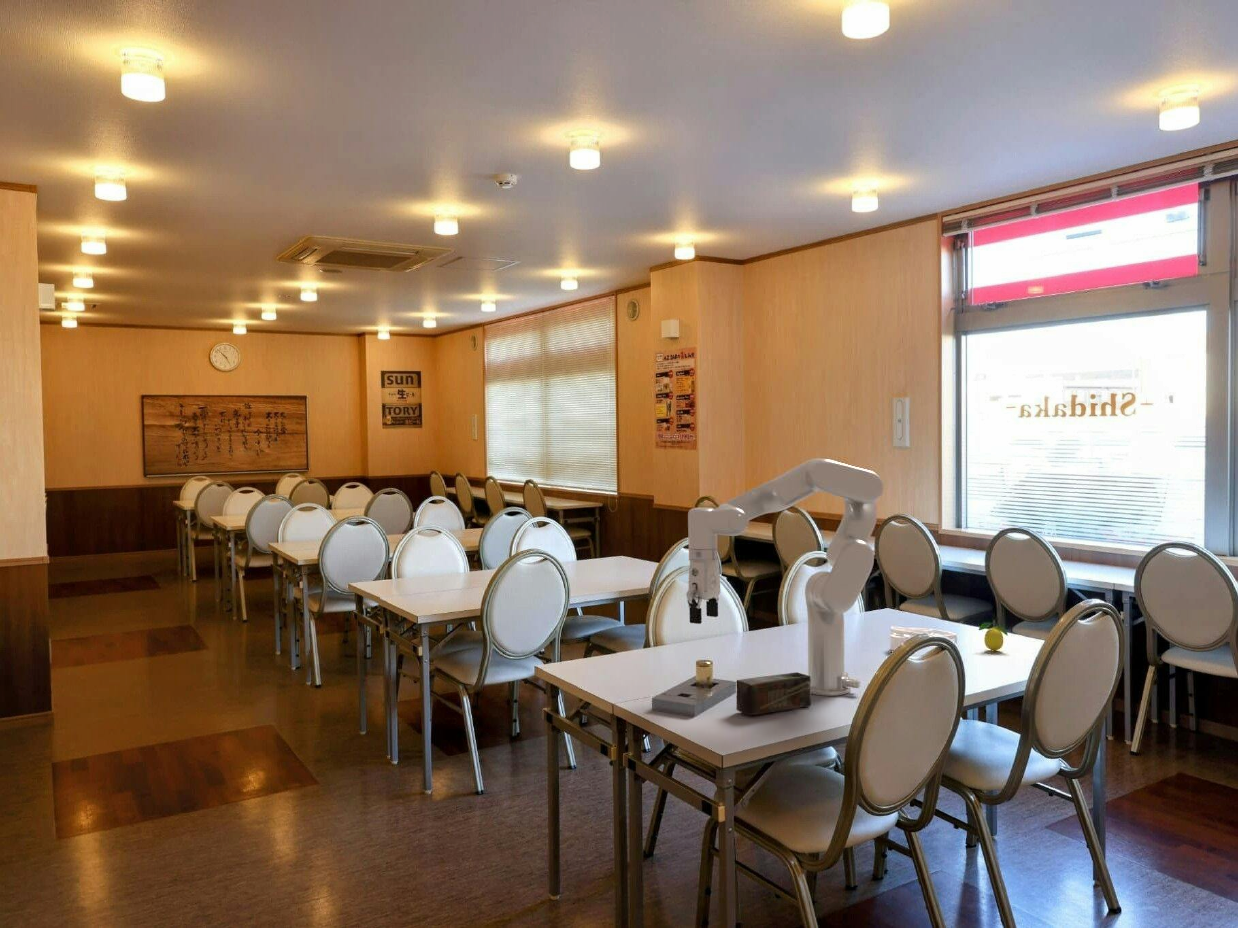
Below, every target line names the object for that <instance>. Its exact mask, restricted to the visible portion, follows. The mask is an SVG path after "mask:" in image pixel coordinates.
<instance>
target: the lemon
mask: <svg viewBox="0 0 1238 928" xmlns="http://www.w3.org/2000/svg"><path fill="white" fill-rule="evenodd" d="M992 624H993V626H992V627H991V628H989V629H988V630H986V632H985V634H984V645H985V647H986V648H987V649H989V650H991V651H992V652H993V653H994V652H995V653H996V652H997V651H998V650H1000V649H1002V648H1003V646H1004V636H1003V634H1004V635H1006V636H1009V635H1008V632H1007V630H1006V629H1005V628H1004V627H1003V626H1000V625H995V621H993V622H983V623H982V624H981V625H980V626H979V628H978V631H983V630H985V629H987V628H988V627H990V626H991V625H992Z"/></svg>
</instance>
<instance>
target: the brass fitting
mask: <svg viewBox="0 0 1238 928" xmlns="http://www.w3.org/2000/svg"><path fill="white" fill-rule="evenodd" d="M713 667H714V664H713V660H710V659H700V660H696V661H695V676H696V687H701V688H708V689H710V688H712V687H713V678H714V672H713V671H714V668H713Z"/></svg>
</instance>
